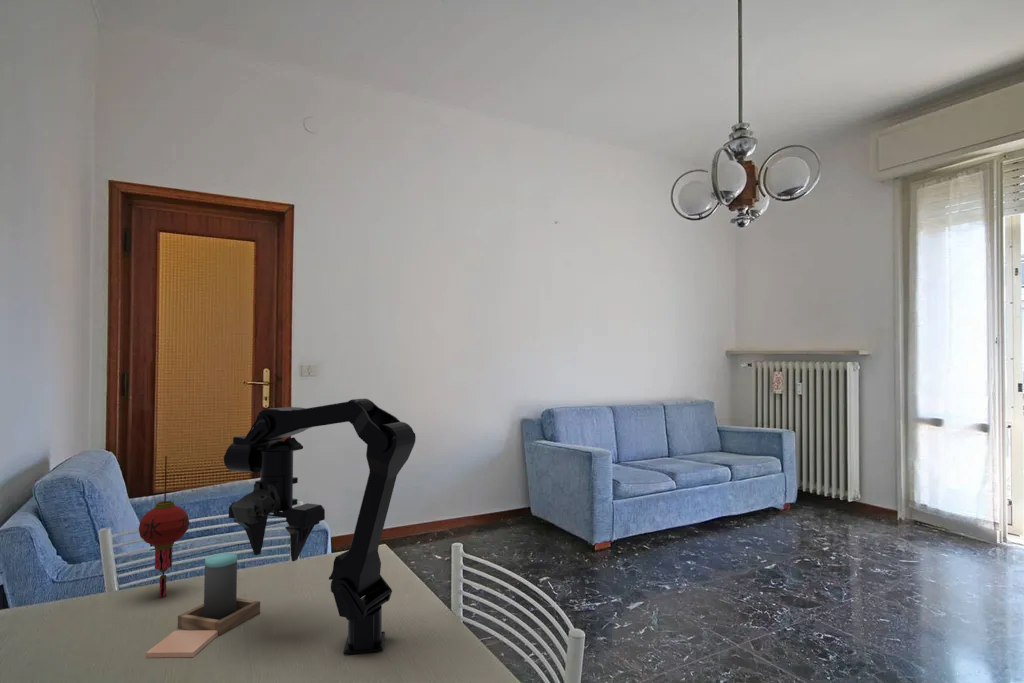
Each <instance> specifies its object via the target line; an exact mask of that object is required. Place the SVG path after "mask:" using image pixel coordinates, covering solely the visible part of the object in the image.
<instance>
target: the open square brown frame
mask: <svg viewBox="0 0 1024 683" xmlns="http://www.w3.org/2000/svg"><path fill="white" fill-rule="evenodd" d="M258 614H261V601H259V600H254V599H253V600H252V599H245V598H241V597H237V598H236V612H234V613H232V614H230V615H228V616H226V617H225V618H223V619H221V620H216V619H210V618H204V603H203V604H201V605H198V606H196V607H194V608H192V609H190V610H188V611H186V612H184V613H181V614H180V615H178V616H177V629H181V630H185V631H192V630H216V631H218V636H221V635H222V634H224V633H227V632H229V631H230V630H232V629H233V628H235V627H237V626H239V625H241V624H242V623H244V622H246V621H248V620H250V619H251V618H253V617H255V616H257V615H258Z"/></svg>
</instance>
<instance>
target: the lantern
mask: <svg viewBox="0 0 1024 683" xmlns="http://www.w3.org/2000/svg"><path fill="white" fill-rule="evenodd" d="M164 458H165V459H164V460H165V461H164V463H165V464H164V498H163V499H164V500H163V501H159V502H156V503H155V506H154V507H153V508H152V509H150V510H149V511H147V512H145V514H144V515H143V516H142V518H141V519H140V522H139V525H138V533H139V538H141V540H143V541H144V542H145V543H147V544H148V545H152V546H153V548H154V569H155V570H157V571H159V572H161V573H162V575H160V577H159V596H158V597H159V598H160V597H163V598H165V596H166V597H167V575H166V574H165V572H167V570H168V569H169V568H172V566H173V548H174V545H175V543H176V542H177V541H179V540H180V539H181V538H182V537H183V536H184V535H185V534H186V532H187V531H188V530H189V526H190V520H189V514H188V513H187V512H186V510H185V509H183V507H181V506H177V505H176V503H175V501H174V500H167V467H168V466H167V464H168V462H167V461H168V460H167V459H168V455H165V456H164Z"/></svg>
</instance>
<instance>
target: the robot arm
mask: <svg viewBox="0 0 1024 683" xmlns="http://www.w3.org/2000/svg"><path fill="white" fill-rule="evenodd" d="M341 423H350V424H351V425H352V426H353V429H354V430H355V433H356V435H357V436H358V437H359V439H360V440H362V441H363V442H364V443H365V444H366V452H365V453H366V454H365V456H366V460H367V465H368V468H369V473H368V478H367V482H366V484H365V487H364V489H365V490H364V493H363V496H362V501H361V504H360V508H359V512H358V515H357V516H358V517H357V521H356V524H355V528H354V532H353V536H352V539H351V544H350V546H349V549H348V550H346V551H345V552H343V553H340V554H339V555H337V556H335V558H334V560H333V567H332V572H331V574H330V575H329V577H328V580H329V581H330V580H331V582H330V592H331V593H333V598H334V600H335V601H334V602H335V606H336V609H337V612H338V616H339V617H342V618H345V619H346V621H347V623H348V624H347V625H348V626H347V629H348V630H347V636H346V637H347V638H346V641H345V644H344V648H343V655H352V654H353V655H354V654H365V653H373V652H374V653H377V652H382V651H383V650H384V646H385V644H384V643H385V639H386V638H385V635H386V634H385V633H386V632H385V631H384V630H382V627H383V626H382V624H383V623H382V622H383V620H382V616H383V615H382V614H383V613H382V612H383V611H382V610H383V606H382V605H384V604H385V603H387V602H390V598H391V595H392V593H393V589H392V588H391V586H390V585H389V584H388V583H387V582H386V580H385V579H384V578H383V576H382V575H381V568H382V561H381V558H380V554H379V546H380V542H381V539H382V535H383V531H384V527H385V524H386V519H387V515H388V511H389V507H390V504H391V500H392V496H393V492H394V488H395V484H396V480H397V477H398V474H399V473H400V471H401V469H402V468H403V467H404V465H406V463H407V461H408V459H409V458H410V455H411V453H412V450H413V449H414V447H415V444H416V439H417V436H416V433H415V432H414V430H413V428H412V426H410V424H408V423H406V422H404V421H400V420H399V419H398V417H396V416H395V415H393V414H391V413H390V412H387V411H386V410H384V409H383V408H380V407H379V406H378V405H377V404H375V403H374V402H373V401H372V400H370V399H368V398H355V399H353V398H352V399H350V400H348V401H344V402H337V403H332V404H326V405H319V406H314V407H307V408H305V407H300V406H299V407H298V406H297V407H296V406H295V407H294V406H285V407H274V408H271V407H270V408H264V409H261V410H260V411H258V415H257V416H256V419H255V421H254V422H253V424H252V426H251V428H250V429H249V431H248V433H247V434H246V435H238V436H233V437H232V442H231V444H230V445H229V446H228V447H227V449H226V451H225V453H224V455H223V464H224V466H225V467H226V469H227V470H229V471H231V472H240V473H241V472H242V473H243V472H244V473H253V474H254V473H256V474H257V473H260V476H259V478H260V480H255V481H254V484H253V490H252V491H251V492H249V493H247V494H246V495H244V496H243V497H241V498H239V499H238V500H236V501H232V502H231V504H230V505H229V507H228V519H233V522H234V523H236V524H238V525H239V526H241V527H242V528H243V529H244V531H245V533H246V535H247V538H248V541H249V544H250V546H251V549H252V551H253V554H254V556H259V555H260V554H261V552H262V549H263V545H264V544H263V543H264V540H265V535H266V534H265V533H266V528H267V524H268V523H267V522H268V517H278V518H285V521H286V523H287V524H288V525H287V526H284V528H285V530H286V531H287V532H288V533H289V536H290V540H289V542H290V558H291V562H297V561H298V560H299V557H300V554H301V553H302V551H303V548H304V546H305V544H306V542H307V540H308V538H309V536H310V535H311V532H313V529H314V527H315V526H316V525H319V524H320V522H322V521H324V520H325V517H326V514H325V511H326V510H325V507H324V506H323V505H321V504H315V503H308V502H307V503H304V504H301V505H298V499H297V498H294V496H293V495H294V492H293V491H294V484H298V483H299V482H298V481H299V480H298V478H299V477H298V476H297V477H296V476H294V452H295V451H302V450H303V449H304V446H303V445H302V443H300V442H299V441H298V440H297V439H296V437H293V436H295V435H297V434H300V433H302V432H305V431H307V430H308V429H311V428H314V427H321V426H327V425H335V424H341ZM286 437H287V438H286ZM288 437H289V438H288ZM284 438H286V439H284ZM283 439H284V440H283ZM296 505H298V506H296ZM293 506H295V507H293Z"/></svg>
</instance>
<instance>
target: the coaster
mask: <svg viewBox="0 0 1024 683" xmlns="http://www.w3.org/2000/svg"><path fill="white" fill-rule="evenodd" d="M218 636H219V635H218V631H216V630H192V631H191V630H174V631H173V632H171V633H170V634H168V635H167V636H166V637H165V638H163V639H162V640H160V642H157V644H155V645H154V646H153V647H152V648H150V649H148V650H147V651H146V652H145V658H149V659H150V658H151V659H152V658H194V657H195V656H196V655H198V653H200V652H201V651H202V650H204V648H206V647H207V645H209V643H212V641H213V640H215V639H216V637H218Z"/></svg>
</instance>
